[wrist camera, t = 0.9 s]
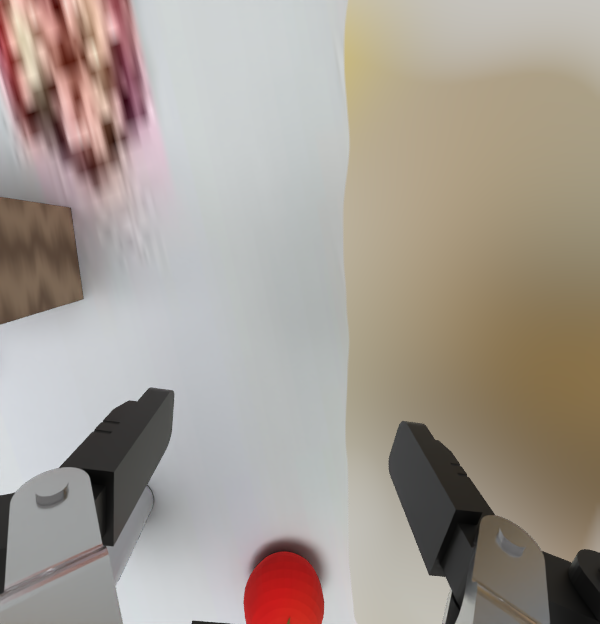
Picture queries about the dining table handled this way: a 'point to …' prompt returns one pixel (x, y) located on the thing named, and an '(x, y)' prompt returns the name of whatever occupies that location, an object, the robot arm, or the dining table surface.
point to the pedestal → (36, 259)
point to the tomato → (283, 592)
